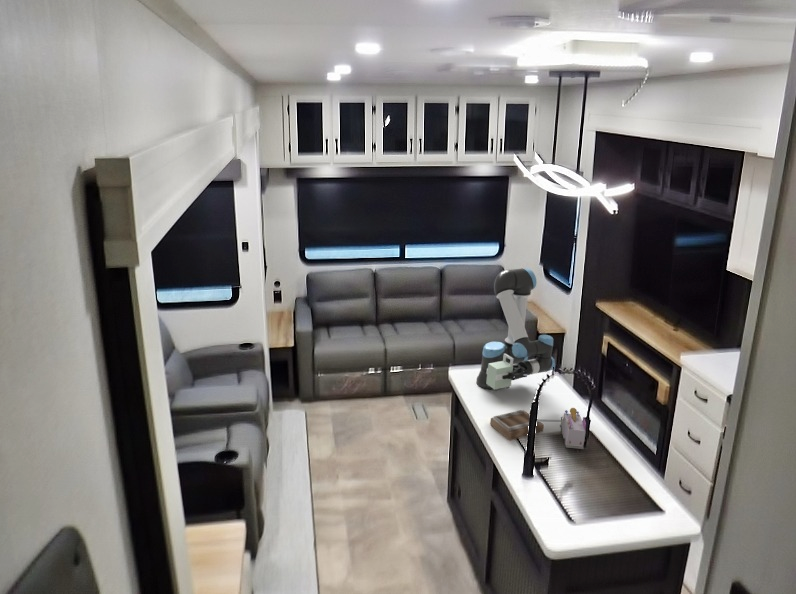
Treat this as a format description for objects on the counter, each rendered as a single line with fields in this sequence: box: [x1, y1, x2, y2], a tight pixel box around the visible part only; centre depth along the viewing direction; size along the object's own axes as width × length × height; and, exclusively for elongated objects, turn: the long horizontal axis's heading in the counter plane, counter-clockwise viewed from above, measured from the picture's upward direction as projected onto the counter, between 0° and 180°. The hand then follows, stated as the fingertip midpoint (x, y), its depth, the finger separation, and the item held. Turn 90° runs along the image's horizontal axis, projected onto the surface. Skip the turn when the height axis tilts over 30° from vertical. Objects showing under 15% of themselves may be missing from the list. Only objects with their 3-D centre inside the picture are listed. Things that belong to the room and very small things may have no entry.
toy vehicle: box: [559, 407, 587, 450], centre depth 290 cm, size 9×20×15 cm, turn 174°
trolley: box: [486, 354, 514, 392], centre depth 309 cm, size 10×7×16 cm
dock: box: [489, 409, 545, 441], centre depth 300 cm, size 20×15×6 cm
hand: (491, 374), depth 307 cm, fingers closed on trolley, 7 cm apart
